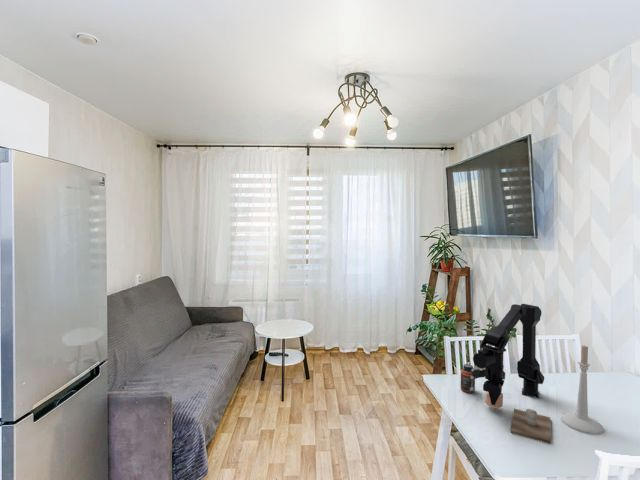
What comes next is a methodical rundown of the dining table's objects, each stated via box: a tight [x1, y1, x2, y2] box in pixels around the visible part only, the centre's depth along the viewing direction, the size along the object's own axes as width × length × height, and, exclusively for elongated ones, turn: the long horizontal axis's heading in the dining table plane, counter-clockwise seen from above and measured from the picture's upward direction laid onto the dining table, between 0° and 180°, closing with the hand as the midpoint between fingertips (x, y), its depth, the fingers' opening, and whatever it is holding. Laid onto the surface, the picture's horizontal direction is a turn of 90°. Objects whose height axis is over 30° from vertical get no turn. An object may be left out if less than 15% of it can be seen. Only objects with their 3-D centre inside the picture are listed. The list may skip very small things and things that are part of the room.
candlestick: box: [560, 344, 605, 435], centre depth 133 cm, size 13×13×30 cm
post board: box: [510, 408, 552, 444], centre depth 132 cm, size 18×12×6 cm, turn 148°
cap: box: [484, 391, 504, 409], centre depth 143 cm, size 6×6×4 cm
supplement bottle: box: [460, 363, 476, 394], centre depth 160 cm, size 6×6×11 cm
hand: (494, 401), depth 144 cm, fingers closed on cap, 6 cm apart
